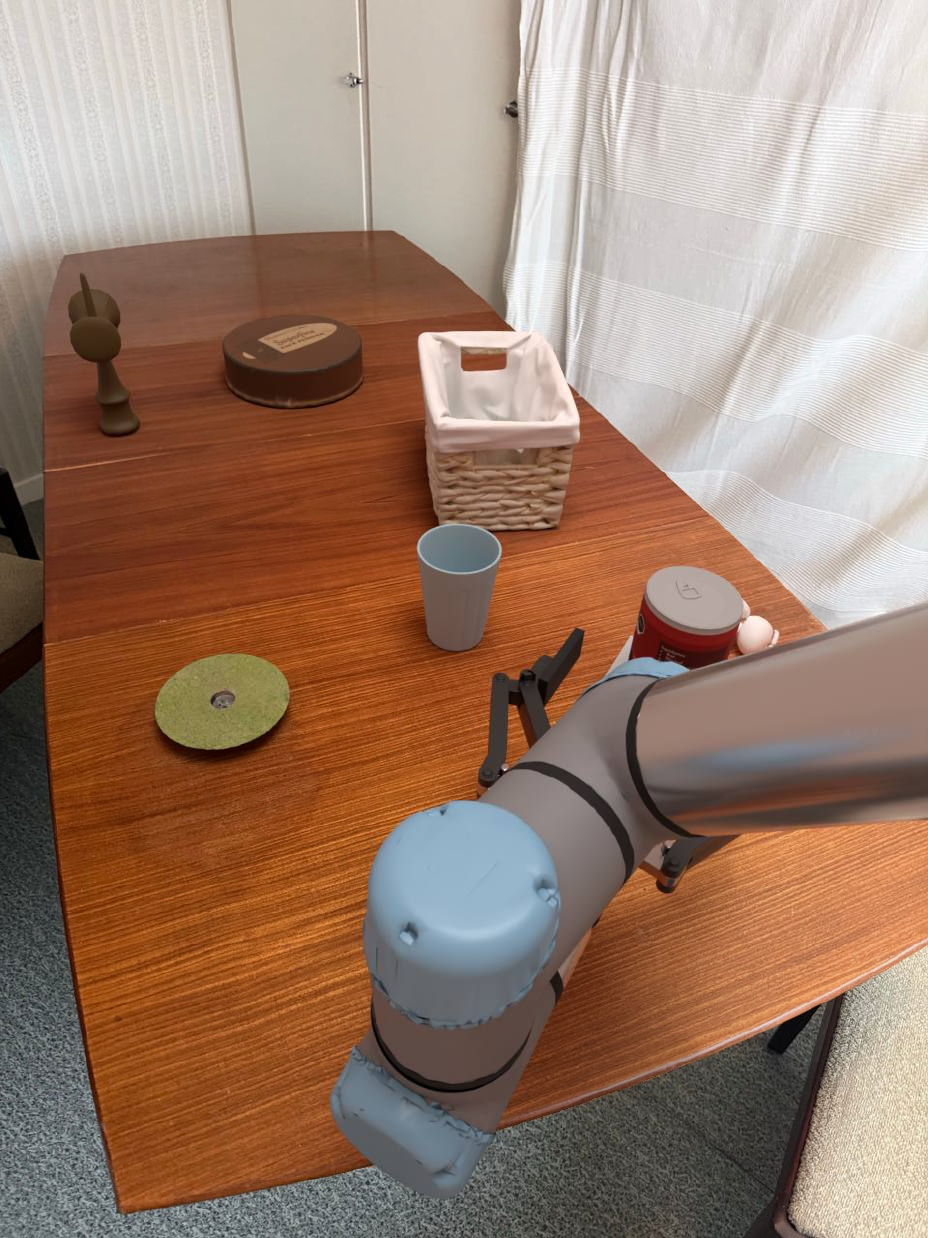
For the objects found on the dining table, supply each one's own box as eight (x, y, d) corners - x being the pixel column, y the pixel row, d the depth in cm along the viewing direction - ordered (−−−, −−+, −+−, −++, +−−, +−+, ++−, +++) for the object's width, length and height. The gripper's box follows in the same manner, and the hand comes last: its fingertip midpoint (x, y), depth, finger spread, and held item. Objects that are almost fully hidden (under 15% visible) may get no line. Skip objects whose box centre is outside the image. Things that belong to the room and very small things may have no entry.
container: (282, 423, 112) (277, 380, 108) (199, 375, 122) (192, 334, 118) (391, 380, 123) (391, 340, 119) (307, 339, 133) (304, 300, 129)
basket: (569, 538, 95) (587, 420, 85) (428, 542, 93) (429, 422, 83) (534, 435, 113) (546, 328, 103) (415, 436, 111) (415, 328, 101)
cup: (399, 631, 82) (399, 545, 75) (454, 597, 86) (458, 513, 79) (454, 671, 78) (459, 584, 71) (508, 633, 82) (518, 548, 75)
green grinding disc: (308, 678, 76) (306, 663, 75) (264, 774, 68) (261, 759, 67) (192, 659, 77) (189, 644, 76) (135, 751, 69) (130, 735, 68)
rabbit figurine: (771, 677, 79) (703, 634, 78) (748, 678, 83) (683, 637, 82) (796, 624, 80) (730, 580, 79) (772, 627, 84) (709, 586, 83)
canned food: (666, 649, 77) (693, 554, 70) (730, 704, 72) (766, 607, 65) (603, 680, 73) (624, 583, 66) (666, 739, 69) (696, 641, 61)
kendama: (142, 409, 114) (107, 257, 100) (146, 442, 107) (110, 284, 94) (96, 414, 112) (54, 260, 99) (97, 448, 105) (53, 288, 92)
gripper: (360, 836, 55) (509, 650, 69) (730, 1038, 46) (814, 777, 60) (355, 763, 50) (517, 579, 64) (769, 974, 41) (850, 706, 55)
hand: (661, 674), depth 62 cm, fingers open, 13 cm apart
